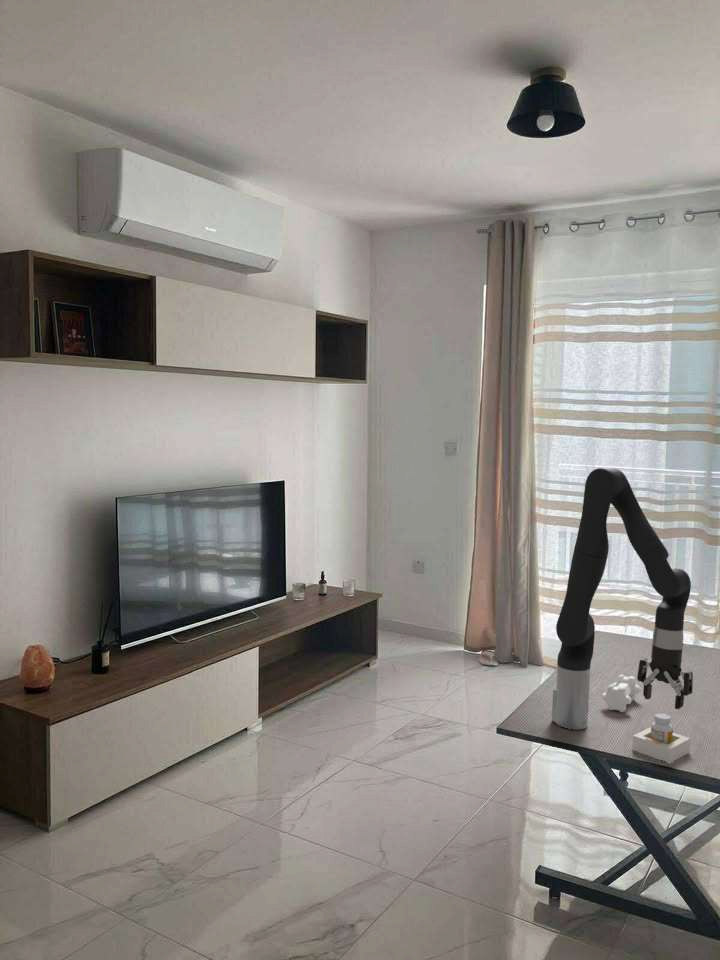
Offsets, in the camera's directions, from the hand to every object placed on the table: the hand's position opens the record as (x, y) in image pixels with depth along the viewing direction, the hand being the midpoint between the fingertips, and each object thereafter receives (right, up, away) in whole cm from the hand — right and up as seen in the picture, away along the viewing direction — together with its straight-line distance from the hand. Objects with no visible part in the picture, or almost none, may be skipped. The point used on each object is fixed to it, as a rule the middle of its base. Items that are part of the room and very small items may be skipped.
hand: (662, 703), depth 212 cm
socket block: (0, -13, +1) cm, 13 cm away
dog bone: (0, -11, +35) cm, 37 cm away
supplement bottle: (0, -13, +1) cm, 13 cm away
